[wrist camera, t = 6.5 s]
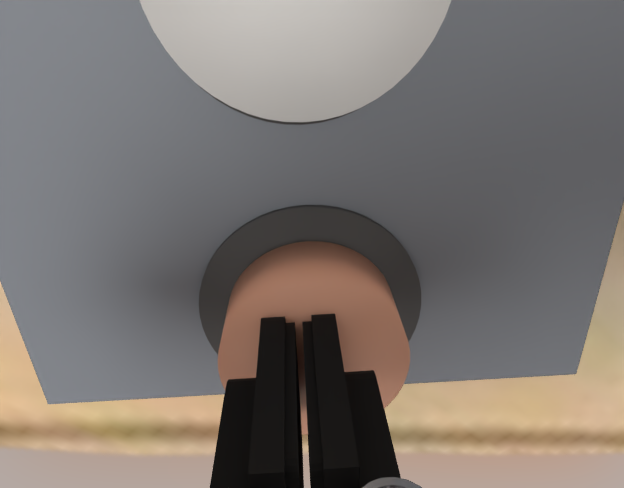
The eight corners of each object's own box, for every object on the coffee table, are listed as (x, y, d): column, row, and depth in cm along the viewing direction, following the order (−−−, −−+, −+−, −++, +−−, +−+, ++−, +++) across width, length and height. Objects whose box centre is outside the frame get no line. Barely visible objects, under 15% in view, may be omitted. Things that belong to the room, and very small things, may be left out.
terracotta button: (396, 236, 12) (415, 278, 10) (390, 373, 14) (405, 429, 12) (218, 246, 12) (204, 289, 10) (237, 382, 14) (229, 439, 12)
